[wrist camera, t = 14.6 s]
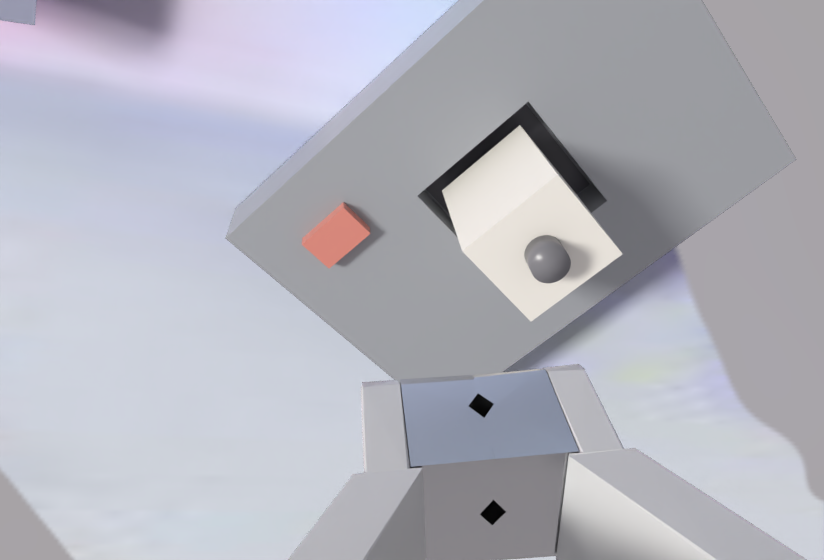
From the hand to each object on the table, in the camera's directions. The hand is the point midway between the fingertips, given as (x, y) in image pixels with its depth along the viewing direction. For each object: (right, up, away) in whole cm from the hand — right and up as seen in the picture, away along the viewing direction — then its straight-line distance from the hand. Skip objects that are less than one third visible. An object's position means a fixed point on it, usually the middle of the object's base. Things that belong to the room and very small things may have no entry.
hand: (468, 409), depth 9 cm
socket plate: (+3, +7, +22) cm, 23 cm away
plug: (+3, +6, +21) cm, 22 cm away
